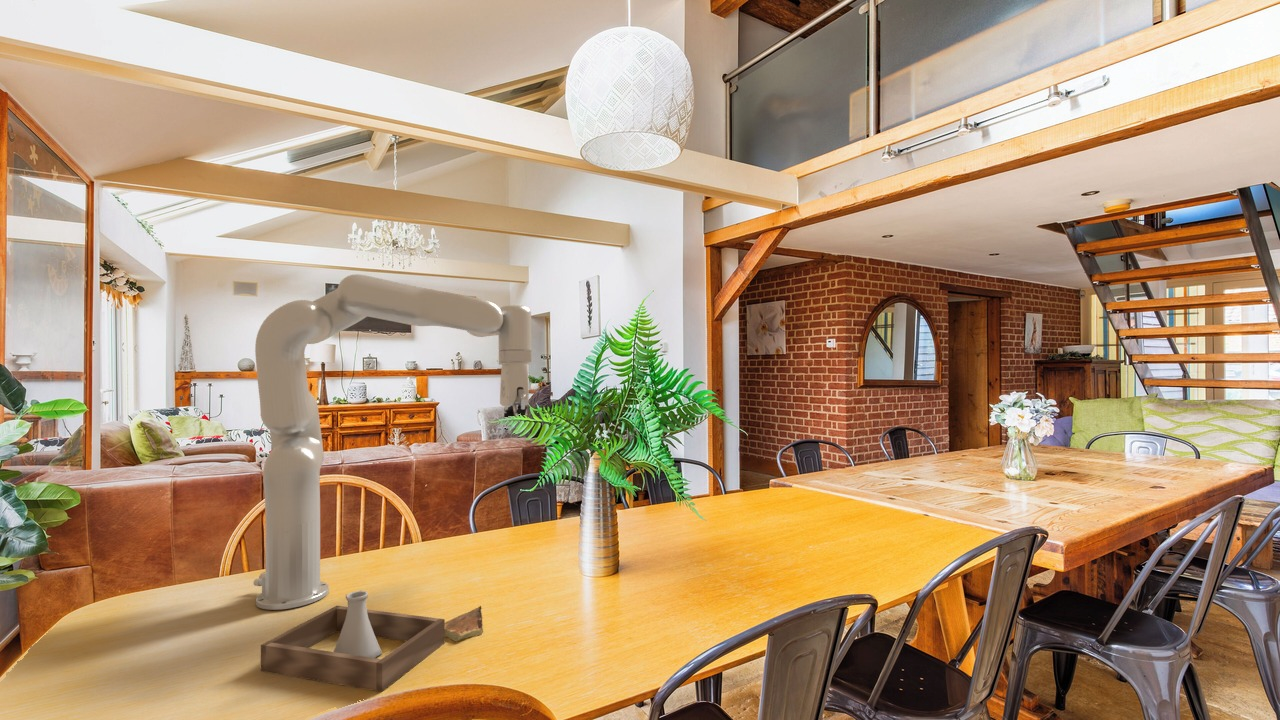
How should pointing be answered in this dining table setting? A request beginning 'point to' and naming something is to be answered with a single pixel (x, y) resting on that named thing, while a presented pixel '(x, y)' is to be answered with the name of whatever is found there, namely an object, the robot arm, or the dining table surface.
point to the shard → (465, 625)
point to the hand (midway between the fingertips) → (515, 431)
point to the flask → (357, 629)
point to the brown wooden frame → (351, 670)
